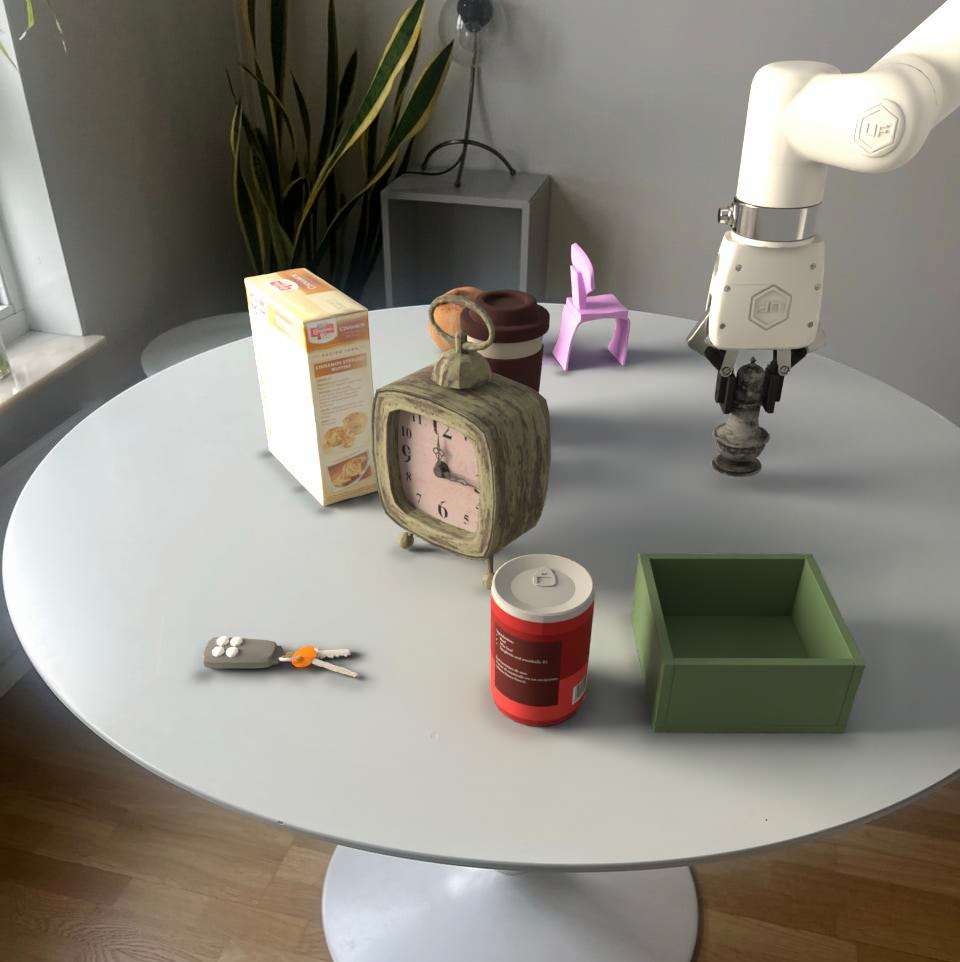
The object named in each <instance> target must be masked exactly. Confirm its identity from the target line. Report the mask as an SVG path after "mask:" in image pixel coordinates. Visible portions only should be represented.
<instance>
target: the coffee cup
mask: <svg viewBox="0 0 960 962" xmlns="http://www.w3.org/2000/svg"><path fill="white" fill-rule="evenodd" d="M474 302H476V303H478V304H479V305H480V306H481V307H482V308H483V309H484V310H485V311H486V312H487V313H488V315H489V316H490V318H491V319H492V322H493V325H494V329H495V337H494V340H493V342H492V344H491V345H490V346H489V347H488V348H486V349H485V350H480V351H477V352H478V353H480V354H481V355H482V356H483V357H485V358H486V360H487V362H488V363H489V365H490V368H491V371H492V373H495V374H498V375H501V376H503V377H506V378H508V379H511V380H513V381H516V382H518V383H521V384H523V385H526V386H528V387H530V388H532V389H534V390H535V391H537V392H538V393H539V394H540V388H541V378H542V370H543V360H544V352H545V345H544V342H543V341H544V336H545V335H546V334H547V333H548V331H549V329H550V321H551V314H550V312H549V310H548V309H547V308H545V307H544V306H543V305H541V304H538V301H537V299H536V297H534V295H532V294H531V293H528V292H525V291H522V290H517V289H493V290H488V291H484V293H481V294H480V295H478V296H477V297H476V298H475V299H474ZM460 327H461V330H464V331H466V332H467V341H469V342H472V343H483V342H485V341H487V340H488V338H489V329H488V327H487V325H486V323H485V321H484V320H483V319H482V317H481V316H480V315H479V314H477V313H476V312H475V311H474V310H472V309H469V308H467V307H465V308H464V309H463V310H462V311H461V314H460Z"/></svg>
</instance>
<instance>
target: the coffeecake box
mask: <svg viewBox="0 0 960 962" xmlns="http://www.w3.org/2000/svg"><path fill="white" fill-rule="evenodd" d="M244 287H245V291H246V299H247V307H248V312H249V319H250V326H251V332H252V340H253V347H254V353H255V354H254V355H255V361H256V367H257V373H258V375H257V376H258V382H259V389H260V395H261V401H262V407H263V414H264V421H265V429H266V436H267V442H268V443H267V444H268V450H269V451H270V453H272V455H273V456H274V457H275V458H276V459H277V460H278V461H279V462H280V463H281V464H282V465H283V466H284V467H285V468H286V469H287V471H289V472H290V474H292V475H293V476H294V478H295V479H296V480H297V481H298V482H299V483H300V484H301V485H302V486H303V487H304V488H305V489H306V490H307V491H308V493H310V494H311V495H312V496H313V497H314V499H316V500H317V501H318V503H320V504H321V505H322V507H326V506H329V505H333V504H336V503H339V502H343V501H346V500H349V499H353V498H357V497H361V496H365V495H369V494H372V493H375V492H378V488H377V484H376V477H375V469H374V462H373V454H372V424H371V418H372V406H373V400H374V397H375V394H374V380H373V366H372V353H371V351H372V350H371V339H370V337H371V336H370V325H369V308H367V307H365V306H364V305H362V304H361V303H359V302H357V301H356V300H355V299H353V298H352V297H350V296H349V295H347V294H345V293H344V292H343V291H340V290H339V289H338V288H336V287H335V286H333V285H331V284H330V283H329V282H327V281H326V280H324V279H322V278H321V277H319V276H318V275H316V274H315V273H314V272H312V271H310V270H309V269H307V268H305V267H299V268H293V269H286V270H281V271H276V272H272V273H267V274H261V275H255V276H249V277H244Z"/></svg>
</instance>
